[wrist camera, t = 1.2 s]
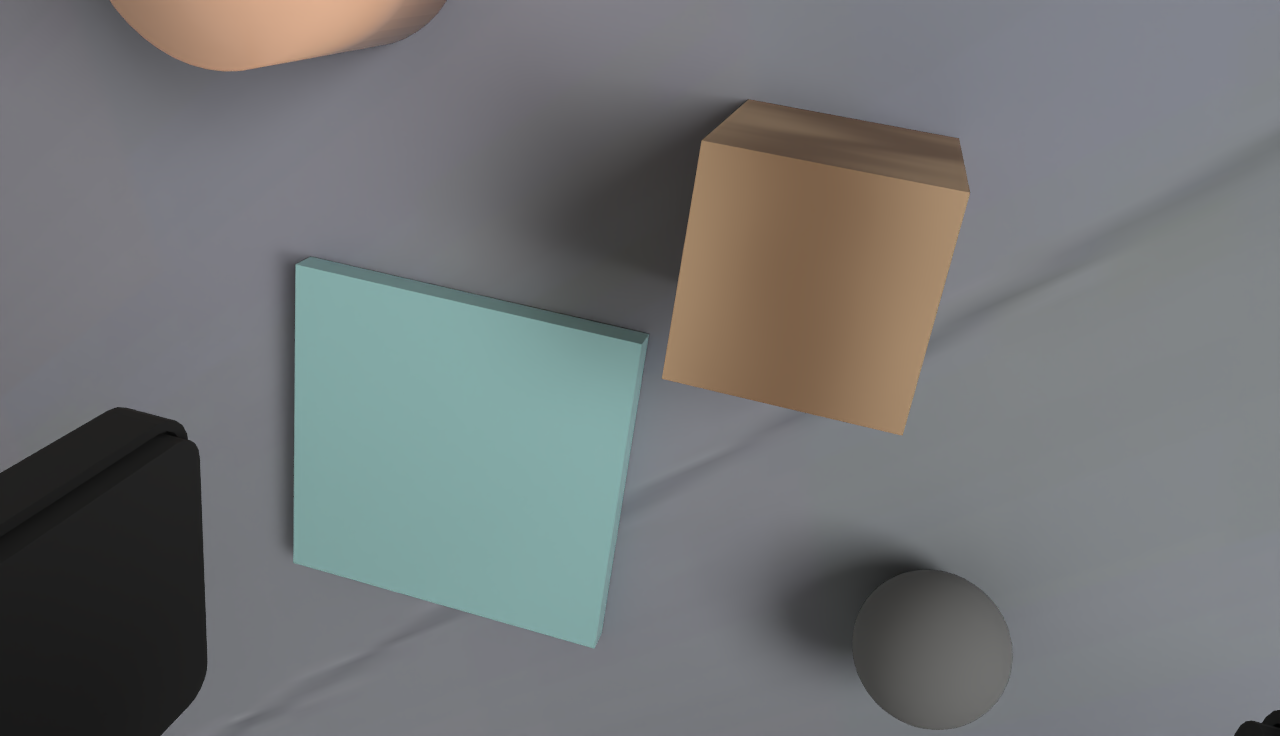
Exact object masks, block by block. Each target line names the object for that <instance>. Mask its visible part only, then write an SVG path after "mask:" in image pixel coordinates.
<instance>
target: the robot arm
mask: <svg viewBox="0 0 1280 736" xmlns="http://www.w3.org/2000/svg"><path fill="white" fill-rule="evenodd" d="M206 671H207V639H206V612H205V585H204V558H203V531H202V504H201V477H200V456H199V450H198V448H197V446H196V444H195V443H193V442H192V441H190V440H188V437H187V433H186V431H185V429H184V427H183V425H181V424H180V423H178V422H177V421H175V420H171V419H167V418H163V417H159V416H156V415H152V414H148V413H144V412H140V411H136V410H133V409H129V408H121V407H117V408H114V409H111V410H109V411H107V412H105V413H103V414H101V415H100V416H98V417H96V418H94V419H93V420H91V421H89V422H88V423H86V424H84V425H82V426H81V427H79V428H77V429H76V430H74V431H72V432H70V433H69V434H67V435H65V436H63V437H62V438H60V439H58V440H57V441H55V442H53V443H51V444H50V445H48V446H46V447H44V448H43V449H41V450H39V451H38V452H36V453H34V454H32V455H31V456H29V457H27V458H26V459H24V460H22V461H20V462H19V463H17V464H15V465H13V466H12V467H10V468H8V469H7V470H5V471H3V472H1V473H0V736H161V735H162V734H163V732H164V731H165V730H166V729H167V728H168V727H169V726H170V725H171V724H172V723H173V722H174V721H175V720H176V719H177V718H178V717H179V716H180V715H181V714H182V712H183V711H184V710H185V709H186V708H187V707H188V706H189V705H190V704H191V703H192V701H193V700H194V699H195V698H196V696H197V694H198V692H199V691H200V689H201V686H202V684H203V682H204V679H205V675H206ZM1234 736H1280V710H1277V711H1273V712H1272V713H1271V714H1269V715H1268V716H1267V717H1266V718H1265V719H1264V721H1263V722H1262V723H1259V722H1255V721H1246V722H1245V723H1243V724H1242V725H1241V726H1240V727H1239V729H1238V730H1237V732H1236V733H1235V735H1234Z"/></svg>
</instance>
